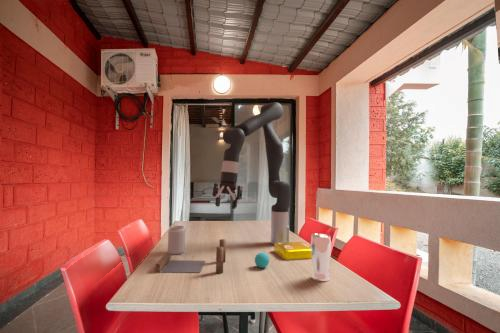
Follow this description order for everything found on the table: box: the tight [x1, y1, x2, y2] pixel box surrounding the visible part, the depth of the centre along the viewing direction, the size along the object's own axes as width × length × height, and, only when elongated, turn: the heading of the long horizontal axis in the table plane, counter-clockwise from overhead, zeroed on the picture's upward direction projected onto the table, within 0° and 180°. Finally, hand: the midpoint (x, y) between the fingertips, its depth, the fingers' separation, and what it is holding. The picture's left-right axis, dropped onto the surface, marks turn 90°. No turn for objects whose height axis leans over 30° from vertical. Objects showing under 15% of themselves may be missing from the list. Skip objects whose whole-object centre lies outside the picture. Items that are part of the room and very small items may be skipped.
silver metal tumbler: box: [310, 233, 332, 282], centre depth 96 cm, size 7×7×15 cm
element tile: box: [273, 241, 312, 261], centre depth 126 cm, size 15×15×5 cm
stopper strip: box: [155, 252, 172, 274], centre depth 106 cm, size 2×14×3 cm, turn 1°
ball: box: [254, 252, 270, 268], centre depth 107 cm, size 6×6×6 cm
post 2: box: [215, 246, 224, 275], centre depth 100 cm, size 3×3×9 cm
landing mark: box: [160, 259, 206, 274], centre depth 106 cm, size 14×14×1 cm
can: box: [167, 225, 186, 256], centre depth 125 cm, size 8×8×12 cm
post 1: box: [218, 238, 227, 264], centre depth 113 cm, size 3×3×9 cm
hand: (225, 207), depth 122 cm, fingers open, 8 cm apart
